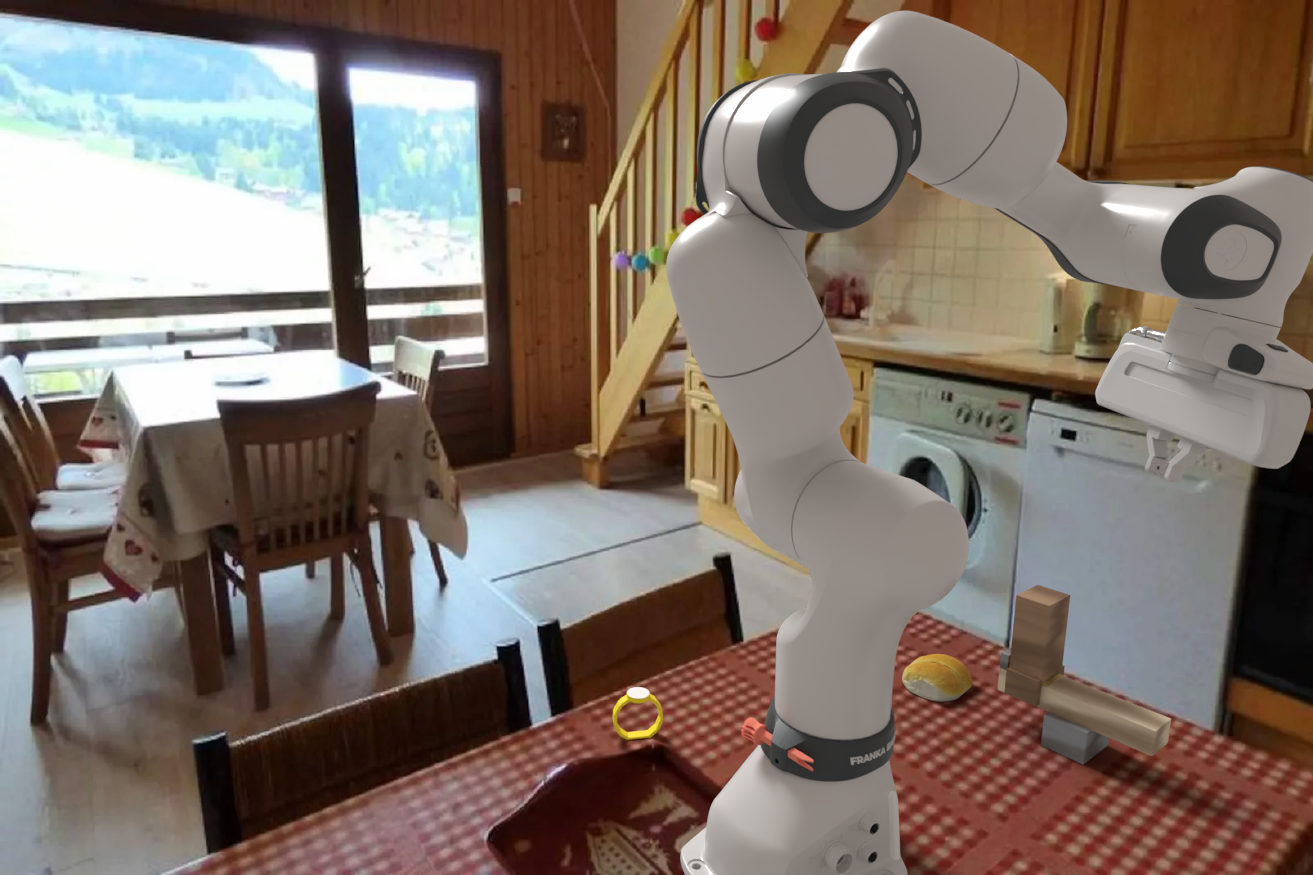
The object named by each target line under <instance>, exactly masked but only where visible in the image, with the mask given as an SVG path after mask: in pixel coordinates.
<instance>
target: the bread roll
mask: <svg viewBox="0 0 1313 875" xmlns="http://www.w3.org/2000/svg"><path fill="white" fill-rule="evenodd" d="M901 676H902V677H901V680H902V683H903V685H904V687H905V688H906V689H907V690H908V692H910V693H912V694H913V695H916V696H919V697H921V698H923V699H926V700H929V701H932V702H941V703H943V702H949V701H955V700H957V699H959V698H961V696H962V695H963V694H965V693H966V692H968V690H970V688H972V686H973V679H972V678H973V676H972V674H971V672H970V671H969V669H968V668H967V666H966V665H965V664H964V663H963V662H962V661H961V660H959V659H957V658H955V657H954V656H951V655H949V654H944V653H932V654H927V655H923V656H919V657H918V658H916V659H914V660H913V661H912V662H911V663H910V664H909V665H907V666H906V667H905V668H904V670H903V673H902V675H901Z"/></svg>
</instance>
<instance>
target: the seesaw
mask: <svg viewBox="0 0 1313 875" xmlns="http://www.w3.org/2000/svg"><path fill="white" fill-rule="evenodd" d="M1010 655H1011V647H1009V648H1007V649H1006V650H1003V651H1002V652H1000V659H999V660H1000V661H999V669H998V671H999V672H998V681H997V691H1000V692H1002V693H1004V691H1005V681H1006V671H1007V669H1008V668H1009V665H1010ZM1035 707H1036V708H1039V709H1040V710H1044V711H1046V712H1045V713H1044V715H1043V722H1042V723H1043V724H1042V733H1041V741H1040V746H1042V747H1045V748H1046V749H1049V750H1051V751H1053V752H1055V753H1057V754H1059V755H1062V756H1063V757H1066V758H1067V759H1071V760H1072V761H1074V762H1076V763H1079V764H1081V765H1086V763H1088V761H1090V760H1092V758H1094V757H1095V756H1096V755H1098V754H1100V752H1101V751H1103V750H1104V749H1105V748H1106V747H1108V746H1109V745H1108V744H1109V739H1110V740H1113V741H1116V742H1118V743H1121V744H1122V745H1124V746H1127V747H1130V748H1131V749H1134V750H1137V751H1139V752H1141V753H1143V754H1146V755H1148V756H1150V757H1154V755H1156V754H1157V753H1158V752H1159V751H1161V750H1162V749H1163V748H1164V747H1165V746H1167V744H1168V742H1169V736H1170V730H1171V723H1172V718H1170V717H1168V716H1165V715H1163V714H1160V713H1158V712H1155V711H1153V710H1150V709H1147V708H1145V707H1143V706H1141V705H1137V704H1136V703H1132V702H1129V701H1128V700H1125V699H1122V698H1121V697H1118V696H1114V695H1112V694H1111V693H1107V692H1104V691H1103V690H1100V689H1097V688H1094V687H1092V686H1090V685H1087V684H1085V683H1081V682H1079V681H1076V680H1074V679H1072V678H1070V677H1068V676H1065V674H1064V675H1063V674H1060V673H1059V674H1058V675H1056V676H1054V677H1053V678H1051V679H1050V680H1048V681H1046V682H1045V683H1043V684H1042V685H1041V694H1040V703H1039V705H1038V706H1035Z"/></svg>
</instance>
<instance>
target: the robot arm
mask: <svg viewBox="0 0 1313 875" xmlns="http://www.w3.org/2000/svg"><path fill="white" fill-rule="evenodd" d="M1066 105H1067V104H1066V101H1065V99H1064V97H1063V96H1062V95H1061V94H1060V93H1059V92H1058V90H1057V89H1056V88H1055V87H1054V86H1053V84H1051V82H1049V80H1048V79H1047V78H1045V77H1044V76H1043V75H1042V74H1041V73H1039V72H1038V71H1037V70H1035V69H1034V68H1033V67H1032V66H1030V65H1029V64H1027V63H1025V62H1024V61H1022V60H1021V59H1019V58H1018V57H1016V56H1014V55H1013V54H1011V53H1010V52H1008V51H1007V50H1005V49H1003V48H1001V47H1000V46H998V45H996V44H994V43H993V42H991V41H989V40H988V39H985V38H983V37H981V36H979V35H978V34H975V33H973V32H971V31H969V30H968V29H964V28H962V27H960V26H958V25H956V24H954V23H950V22H947V21H944V20H942V19H940V18H937V17H934V16H931V15H928V14H924V13H921V12H918V11H913V10H897V11H893V12H889V13H887V14H885V15H882V16H880V17H879V18H877V19H876V20H874V21H873V22H871V23H870V24H869V25H868V26H867V27H866V28H865V29H863V31H861V33H859V35H858V36H857V37H856V38H855V40H854V41H853V42H852V44H851V45H850V47H849V49H848V51H847V52H846V54H845V56H844V57H843V60H842V63H841V65H840V67H839V68H838V69H837V70H836V72H835V71H834V72H828V73H827V72H826V73H818V74H817V73H813V74H811V73H810V74H804V73H798V72H797V73H796V72H789V73H781V74H776V75H772V76H767V77H765V78H761V79H756V80H750V81H746V82H743V83H740V84H738V85H736V86H734V87H732V88H731V89H729V90H728V91H727V92H725V93H723V95H721V96H720V97H719V98H718V99H717V100H716V101H715V102H714V103H713V104H712V105H711V107H710V108H709V109H708V111H707V113H706V115H705V116H704V119H703V121H702V122H701V125H700V129H699V133H698V137H697V144H696V145H697V146H696V164H697V175H696V188H695V190H696V191H695V202H696V206H697V208H698V209H699V211H700V213H701V214H702V216H701V217H699V218H696V220H694V221H693V222H691V223H690V224H689V225H688V226H686V227H685V228H684V229H683V230H682V231H681V232H680V233H679V234H678V236H677V237H676V238H675V240H673V243H672V245H671V246H670V248H669V251H668V253H667V256H666V263H665V264H666V265H665V268H666V269H665V271H666V272H665V273H666V277H667V281H668V285H669V289H670V293H671V297H672V301H673V303H674V307H675V311H676V313H677V317H678V319H679V322H680V324H681V327H682V330H683V334H684V335H685V339H686V341H687V343H688V346H689V348H690V350H691V353H692V355H693V358H694V360H695V362H696V364H697V366H698V367H699V371H700V372H701V374H702V376H703V378H704V380H705V382H706V384H707V386H708V389H709V391H710V393H711V394H712V396H713V399H714V401H715V403H716V405H717V407H718V410H719V411H720V413H721V415H722V418H723V419H724V422H725V423H726V427H727V428H728V431H729V432H730V434H731V437H732V440H733V442H734V445H735V449H736V453H737V456H738V460H739V464H740V466H739V467H740V470H739V473H738V475H737V478H736V481H735V485H734V494H733V500H734V506H735V509H736V513H737V514H738V517H739V518H740V520H741V522H743V524H745V526H746V527H747V528H748V529H749V530H750V531H751V532H752V533H753V535H755V537H756V538H758V539H759V540H760V541H761V542H762V543H763V544H764V545H766V546H767V547H768V548H770V550H772V551H774V552H776V553H778V554H780V555H783V556H785V557H786V558H788V559H789V560H792V561H793V562H795V563H797V564H799V565H801V566H802V567H804V568H807V569H808V571H809V574H810V576H811V581H812V585H811V586H812V588H811V592H810V593H811V594H810V598H809V601H808V603H807V606H804V607H802V608H801V609H798V610H797V611H795V612H794V613H791V615H790V616H789V617H787V618H786V619H785V620H784V621H783V622H782V623H781V625H780V627H779V628H778V631H777V635H776V642H775V643H776V645H775V648H776V649H775V677H774V679H775V681H774V682H775V683H774V696H773V697H772V699H771V700H770V704H769V707H768V709H767V713H766V716H765V720H764V723H763V724H762V723H760V722H759V721H758V720H757V719H756V718H754V717H748V718H747V719H746V720H744V722H743V724H742V725H741V730H740V732H741V736H742V737H743V738H744V739H746V740H749V741H751V742H752V743H754V744H753V745H756V748H755V749H754V750H753V751H752V752H751V753H750V755H749V756H748V757H747V758H746V760H744V762H743V763H742V765H741V766H740V767H739V768H738V770H737V771H736V772H735V773H734V775H733V776H732V777H731V778H730V780H729V781H728V782H727V783H726V784H725V786H724V787H723V788H722V789H721V791H720V792H719V793H718V794H717V795H716V797H715V798H714V799H713V801H712V803H711V805H710V808H709V811H708V815H707V820H706V821H707V822H706V826H705V827H704V828H703V829H702V830H700V831H699V832H698V833H697V834H696V835H695V836H694V837H693V838H691V839H690V840H688V842H687V843H686V844H684V845H683V846H682V848H681V849H680V857H679V858H680V864H681V869H682V871H683V872H684V875H908V869H907V867H906V865H905V862H904V861H903V858H902V856H901V842H900V836H901V835H900V818H899V817H900V815H899V812H900V811H899V798H898V793H897V789H896V785H895V781H894V778H893V773H892V767H891V763H890V762H891V761H890V759H891V758H892V756H893V753H894V746H895V745H894V744H895V740H896V734H897V733H896V732H897V731H896V730H897V729H896V727H895V726H896V725H895V713H894V710H893V708H892V700H893V699H892V698H893V687H894V676H895V668H896V666H895V665H896V659H897V658H896V657H897V654H898V653H897V652H898V647H899V644H900V641H901V638H902V635H903V632H904V630H905V628H906V627H907V625H908V624H909V622H910V620H911V619H912V617H914V616H915V615H916V614H917V613H918V612H920V611H922V610H924V609H927V608H930V607H931V606H934V605H935V604H936V603H938V602H940V601H942V600H943V599H944V598H945V597H946V596H947V595H948V594H949V593H951V591H952V590H953V589H954V588H955V587H956V585H957V583H958V582H959V581H960V579H961V577H962V575H963V574H964V571H965V569H966V567H967V566H966V565H967V562H968V558H969V551H970V550H969V547H970V540H969V539H970V538H969V532H968V527H967V524H966V521H965V518H964V517H963V515H962V513H961V512H960V511H959V509H958V508H957V507H956V506H954V505H953V504H951V503H950V502H949V501H948V500H946V499H945V498H943V497H941V495H938V494H937V493H936V492H934V491H932V490H931V489H929V488H928V487H926V486H925V485H923V484H921V483H920V482H918V481H916V480H915V479H912V478H909V477H905V476H903V475H900V474H897V473H894V472H891V471H887V470H885V469H882V468H878V467H875V466H873V465H869V464H867V463H865V462H863V461H860V460H859V459H858V458H856V457H855V455H853V454H852V453H851V451H850V450H849V449H848V448H847V447H846V446H845V443H844V441H843V438H842V434H841V429H840V428H841V427H842V425H843V423H844V421H846V419H847V417H848V415H849V414H850V412H851V410H852V407H853V403H854V397H855V395H854V394H855V393H854V392H855V391H854V387H853V383H852V381H851V378H850V376H849V373H848V371H847V369H846V365H845V364H844V361H843V358H842V356H841V353H840V351H839V349H838V345H837V344H836V341H835V339H834V337H833V336H834V335H833V334H832V332H831V329H830V326H829V324H828V321H827V319H826V317H825V314H824V312H823V310H822V307H821V305H820V303H819V300H818V299H817V296H816V293H815V292H814V289H813V287H812V286H811V283H810V281H809V279H808V277H809V274H808V269H807V263H806V244H807V243H806V242H807V237H808V233H813V234H828V233H829V234H830V233H831V234H832V233H839V232H842V231H848V230H850V229H854V228H856V227H859V226H861V225H863V224H865V223H867V222H868V221H870V220H872V218H874V217H876V216H877V215H878V214H879V213H880V212H881V211H882V210H884V208H885V207H886V206H887V205H888V204H889V203H890V201H891V200H892V199H893V197H894V196H895V195H896V193H897V192H898V190H899V189H900V187H901V185H902V184H903V181H904V180H905V177H906V176H907V173H908V174H910V175H911V176H913V177H915V178H916V179H918V180H920V181H922V182H924V183H926V184H927V185H930V186H931V187H932V188H935V189H937V190H938V191H941V192H943V193H946V194H948V195H949V196H952V197H955V198H958V199H960V200H962V201H965V202H967V203H972V204H975V205H978V206H982V207H983V206H984V207H987V208H991V209H992V208H993V209H994V210H995V211H997V212H999V213H1001V214H1002V215H1004V216H1006V217H1007V218H1009V219H1010V220H1012V221H1014V222H1016V223H1017V224H1019V225H1020V226H1022V227H1024V228H1025V229H1027V230H1029V231H1030V232H1032V233H1033V234H1034V235H1036V236H1037V237H1038V238H1039V239H1040V240H1041V241H1042V242H1043V244H1044V245H1045V246H1046V247H1047V249H1048V250H1049V251H1050V253H1051V254H1052V257H1053V258H1054V259H1055V261H1056V262H1057V264H1058V265H1059V266H1060V268H1061V269H1062V270H1063V271H1064V272H1065V274H1067V275H1068V276H1070V277H1071V278H1072V279H1074V280H1078V281H1080V282H1084V283H1085V282H1086V283H1093V284H1101V285H1111V286H1115V287H1120V288H1124V289H1129V290H1133V291H1139V292H1144V293H1148V294H1153V295H1156V296H1161V297H1167V298H1171V299H1176V300H1177V299H1178V300H1177V302H1176V305H1175V307H1174V310H1173V312H1172V314H1171V317H1170V320H1169V322H1168V325H1167V328H1166V330H1165V331H1163V330H1158V329H1153V328H1152V327H1149V326H1145V325H1144V326H1143V325H1142V326H1138V327H1137V328H1134V329H1131V330H1129V331H1128V332H1126V333H1125V334H1123V336H1122V338H1121V340H1120V343H1119V345H1118V348H1117V349H1116V351H1115V352H1114V354H1113V355H1112V357H1111V358H1110V360H1109V362H1108V364H1107V366H1106V368H1105V370H1104V371H1103V374H1102V376H1100V380H1099V381H1098V385H1097V386H1096V389H1095V393H1094V395H1095V400H1096V404H1098V406H1101V407H1103V408H1106V409H1109V410H1111V411H1114V412H1116V413H1118V414H1122V415H1124V416H1126V417H1129V418H1132V419H1134V420H1137V421H1139V422H1142V423H1144V424H1146V425H1149V428H1148V431H1147V432H1146V442H1147V449H1148V458H1147V460H1146V464H1145V466H1144V471H1145V472H1147V473H1148V474H1152V475H1153V476H1157V477H1158V478H1160V479H1163V480H1164V481H1167V482H1169V483H1179V482H1180V481H1181V480H1182V478H1183V475H1184V472H1185V470H1186V468H1188V467H1190V466H1191V465H1192V464H1194V462H1196V461H1198V460H1199V459H1200V458H1201V457H1203V456H1204V454H1205V453H1206V450H1207V448H1208V449H1211V450H1213V451H1215V452H1219V453H1221V454H1223V455H1226V456H1229V457H1231V458H1233V459H1236V460H1238V461H1241V462H1242V463H1246V464H1249V465H1251V466H1254V467H1259V468H1265V469H1273V470H1274V469H1275V470H1276V469H1281V467H1283V466H1285V465H1287V464H1288V463H1290V462H1291V461H1292V459H1293V458H1294V456H1295V454H1296V452H1297V450H1298V448H1299V445H1300V442H1301V440H1302V438H1303V436H1304V432H1305V430H1306V428H1307V424H1308V420H1309V417H1310V414H1311V400H1310V399H1311V398H1310V397H1309V395H1308V394H1307V392H1305V391H1304V390H1312V389H1313V362H1312V361H1310V360H1308V359H1307V358H1305V357H1304V356H1302V355H1301V354H1299V353H1298V352H1297V351H1295V350H1293V349H1292V348H1291V347H1289V346H1288V345H1286V344H1285V343H1284V342H1283V341H1281V340H1279V339H1277V337H1278V336H1279V333H1280V331H1281V328H1282V326H1283V322H1284V312H1285V308H1286V304H1287V302H1288V299H1290V296H1291V295H1292V293H1293V292H1294V291H1295V290H1296V288H1298V286H1299V285H1300V283H1301V281H1302V279H1303V277H1304V276H1305V272H1306V271H1307V268H1308V266H1309V263H1310V261H1311V257H1312V256H1313V179H1311V178H1309V177H1307V176H1305V175H1303V174H1300V173H1297V172H1292V171H1289V170H1287V169H1286V170H1285V169H1284V168H1283V169H1282V168H1280V167H1279V168H1278V167H1274V166H1273V167H1272V166H1265V165H1264V166H1262V165H1261V166H1260V165H1258V166H1248V167H1244V168H1242V169H1240V170H1239V171H1238V172H1237V173H1236V174H1235V175H1234V176H1233V177H1230V178H1228V179H1225V180H1222V181H1221V182H1216V183H1212V184H1208V185H1202V186H1195V187H1193V188H1186V187H1185V188H1183V187H1167V186H1165V187H1164V186H1155V185H1154V186H1153V185H1141V184H1131V183H1128V182H1123V181H1121V182H1120V181H1113V180H1102V179H1101V180H1085V179H1082V178H1081V177H1079V176H1078V175H1077V174H1075V173H1073V172H1072V171H1071V170H1069V169H1068V168H1067V167H1065V166H1064V165H1062V164H1060V162H1058V160H1059V157H1060V155H1061V152H1062V150H1063V147H1064V145H1065V140H1066V136H1067V131H1068V130H1067V128H1068V114H1067V113H1068V111H1067V106H1066ZM703 203H705V204H706V206H707V208H708V209H707V208H706V207H705V205H704V204H703ZM1303 389H1304V390H1303ZM1175 436H1177V437H1180V438H1179V442H1178V443H1177V449H1179V450H1180V451H1179V452H1178V453H1176V454H1175V456H1173V457H1172V458H1171V459H1169V457H1168V456H1169V454H1168V442H1173V441H1174V438H1175Z"/></svg>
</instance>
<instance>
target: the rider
mask: <svg viewBox="0 0 1313 875" xmlns="http://www.w3.org/2000/svg"><path fill="white" fill-rule="evenodd" d="M1070 600H1071V595H1070V594H1068V593H1065V592H1062V591H1058V590H1056V589H1052V588H1049V587H1047V586H1043V585H1041V584H1037V585H1034V586H1032V587H1030V588H1029V589H1026V590H1025V591H1022V592H1020V593H1018V594H1016V595H1015V604H1014V616H1013V626H1012V637H1011V645H1010V648H1011V655H1010V665H1009V668H1008V669H1007V671H1006V681H1005V691H1004V692H1003V694H1006V695H1009V696H1010V697H1012V698H1015V699H1016V700H1017V699H1018V700H1020V701H1022V702H1024V703H1027V704H1029V705H1030V706H1031V705H1032V706H1034V707H1036V706H1038V705H1039V703H1040V694H1041V685H1042V684H1043V683H1045V682H1046V681H1048V680H1050V679H1051V678H1053V677H1054V676H1056V675H1058V674H1059V673H1060V674H1063V675H1064V676H1065V667H1066V666H1065V665H1064V654H1065V646H1066V638H1067V627H1068V618H1069V612H1070Z"/></svg>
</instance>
